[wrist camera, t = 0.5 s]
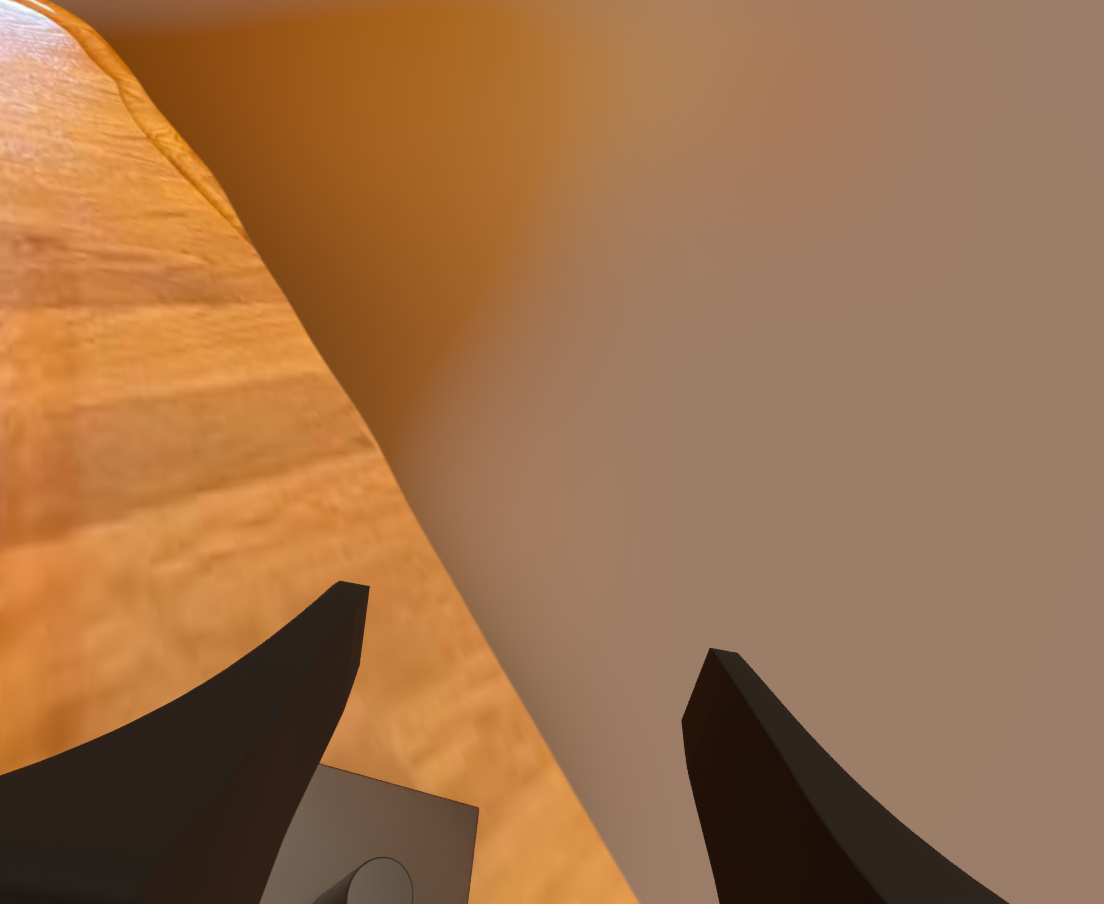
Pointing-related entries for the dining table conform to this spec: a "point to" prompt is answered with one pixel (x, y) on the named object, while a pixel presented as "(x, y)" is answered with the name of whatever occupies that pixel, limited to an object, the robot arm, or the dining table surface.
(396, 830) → the stand
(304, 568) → the dining table surface
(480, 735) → the dining table surface
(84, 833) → the robot arm
